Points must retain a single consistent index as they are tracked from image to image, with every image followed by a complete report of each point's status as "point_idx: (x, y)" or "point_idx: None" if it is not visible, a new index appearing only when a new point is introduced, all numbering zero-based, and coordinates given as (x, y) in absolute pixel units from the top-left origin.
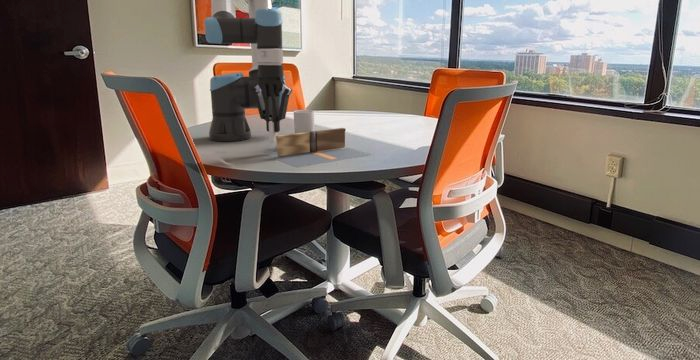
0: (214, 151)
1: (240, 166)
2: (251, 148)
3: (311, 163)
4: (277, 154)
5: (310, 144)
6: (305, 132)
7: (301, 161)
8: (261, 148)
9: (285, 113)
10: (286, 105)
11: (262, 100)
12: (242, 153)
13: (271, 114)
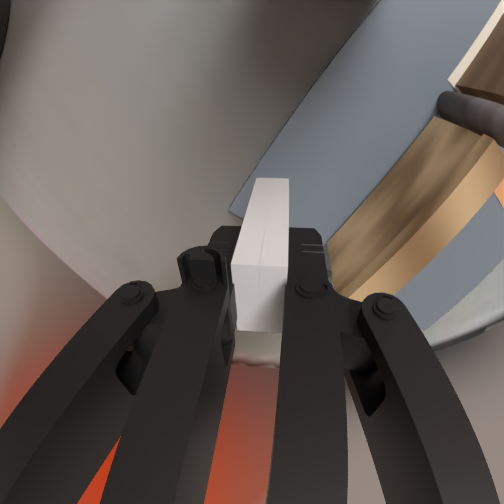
0: (48, 220)
1: (257, 345)
2: (97, 111)
3: (463, 287)
4: (329, 247)
5: (467, 129)
6: (489, 160)
7: (435, 277)
8: (133, 84)
9: (425, 357)
10: (461, 453)
11: (51, 466)
12: (132, 208)
13: (221, 347)
